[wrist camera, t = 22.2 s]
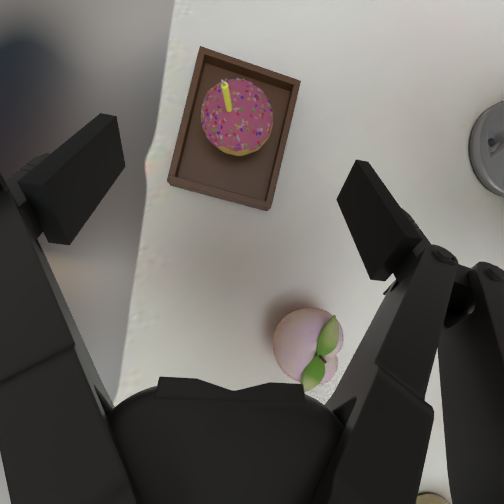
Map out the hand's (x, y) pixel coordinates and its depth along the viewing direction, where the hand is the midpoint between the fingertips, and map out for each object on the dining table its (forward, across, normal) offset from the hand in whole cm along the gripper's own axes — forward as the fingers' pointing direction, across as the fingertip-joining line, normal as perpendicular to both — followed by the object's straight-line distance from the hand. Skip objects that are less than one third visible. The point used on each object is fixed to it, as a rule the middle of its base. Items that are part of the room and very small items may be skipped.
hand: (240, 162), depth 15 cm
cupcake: (+22, 0, -7) cm, 23 cm away
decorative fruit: (+4, +12, -26) cm, 29 cm away
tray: (+22, 0, -7) cm, 23 cm away
